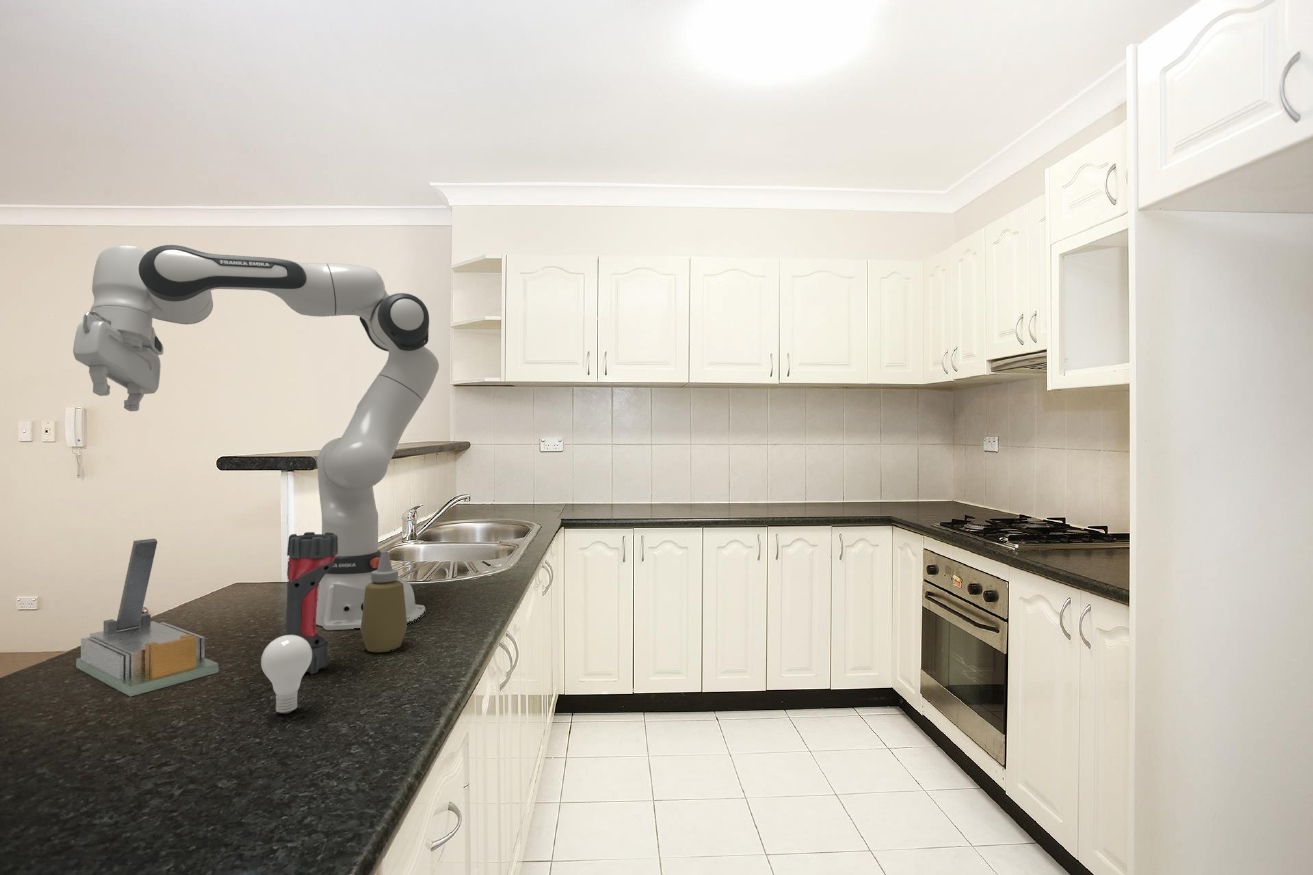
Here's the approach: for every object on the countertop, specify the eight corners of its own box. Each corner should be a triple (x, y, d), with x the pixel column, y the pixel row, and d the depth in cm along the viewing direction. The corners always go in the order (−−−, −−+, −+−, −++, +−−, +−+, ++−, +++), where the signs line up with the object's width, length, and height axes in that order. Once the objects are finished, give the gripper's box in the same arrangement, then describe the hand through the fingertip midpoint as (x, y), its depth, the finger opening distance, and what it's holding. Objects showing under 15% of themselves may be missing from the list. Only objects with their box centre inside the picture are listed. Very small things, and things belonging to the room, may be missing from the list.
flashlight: (346, 664, 112) (347, 532, 112) (310, 680, 104) (311, 538, 104) (311, 659, 114) (312, 529, 114) (272, 674, 107) (274, 536, 107)
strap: (117, 631, 111) (115, 628, 112) (138, 627, 114) (136, 624, 114) (135, 543, 107) (133, 540, 108) (157, 541, 110) (155, 538, 110)
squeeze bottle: (361, 658, 115) (362, 557, 115) (359, 644, 122) (359, 549, 122) (409, 651, 119) (410, 553, 119) (404, 639, 126) (405, 546, 126)
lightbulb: (288, 724, 89) (289, 644, 89) (249, 719, 90) (250, 640, 90) (321, 705, 95) (322, 630, 95) (284, 701, 96) (285, 627, 96)
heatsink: (76, 667, 109) (76, 623, 109) (160, 648, 119) (160, 607, 119) (130, 696, 97) (130, 646, 97) (218, 672, 108) (218, 627, 108)
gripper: (108, 305, 109) (103, 382, 106) (168, 350, 129) (165, 417, 126) (63, 306, 108) (57, 384, 105) (131, 351, 127) (127, 419, 124)
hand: (116, 402), depth 115 cm, fingers open, 8 cm apart
